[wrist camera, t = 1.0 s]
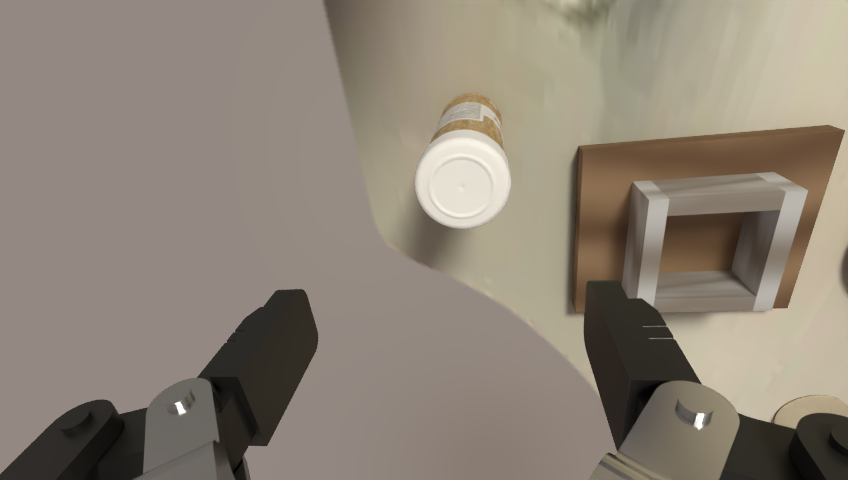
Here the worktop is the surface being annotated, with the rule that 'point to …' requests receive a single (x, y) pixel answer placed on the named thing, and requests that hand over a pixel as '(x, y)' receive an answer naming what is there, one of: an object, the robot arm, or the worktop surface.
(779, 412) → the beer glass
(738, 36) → the worktop surface
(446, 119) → the sprinkles bottle
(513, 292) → the worktop surface
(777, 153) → the socket
